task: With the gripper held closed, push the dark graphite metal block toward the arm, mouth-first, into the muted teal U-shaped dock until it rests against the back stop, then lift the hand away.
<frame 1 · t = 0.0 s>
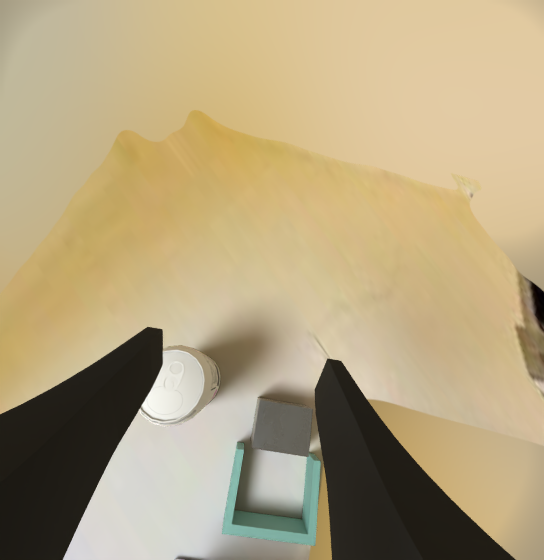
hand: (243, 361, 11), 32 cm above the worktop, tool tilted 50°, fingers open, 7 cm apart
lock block: (278, 421, 38), on the worktop
dock: (271, 484, 35), on the worktop
supplement can: (195, 380, 39), on the worktop
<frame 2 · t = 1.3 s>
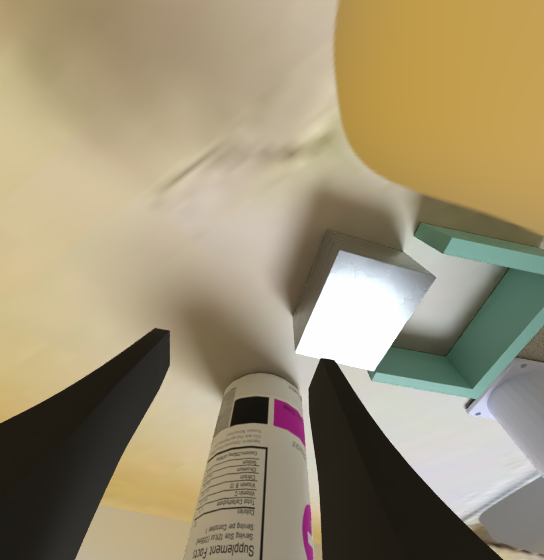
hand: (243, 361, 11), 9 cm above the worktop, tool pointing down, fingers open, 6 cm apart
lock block: (342, 285, 19), on the worktop
dock: (437, 305, 20), on the worktop
supplement can: (262, 394, 26), on the worktop
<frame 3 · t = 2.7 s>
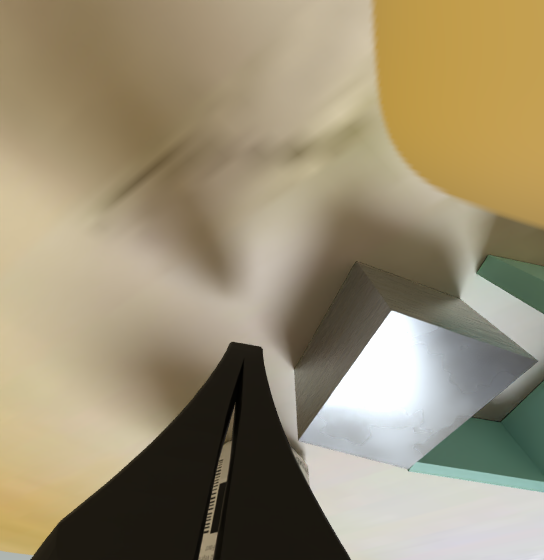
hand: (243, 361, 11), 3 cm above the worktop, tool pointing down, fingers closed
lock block: (367, 335, 14), on the worktop
dock: (498, 362, 14), on the worktop
supplement can: (258, 457, 20), on the worktop
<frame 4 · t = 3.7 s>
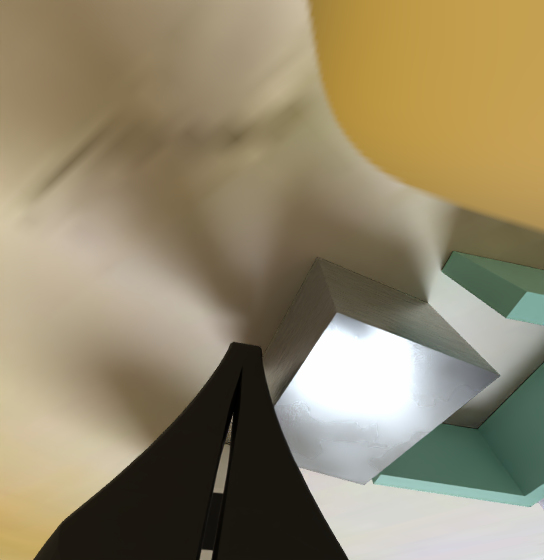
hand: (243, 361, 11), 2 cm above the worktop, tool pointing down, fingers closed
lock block: (331, 339, 13), on the worktop, touching gripper
dock: (471, 366, 13), on the worktop
supplement can: (228, 465, 19), on the worktop
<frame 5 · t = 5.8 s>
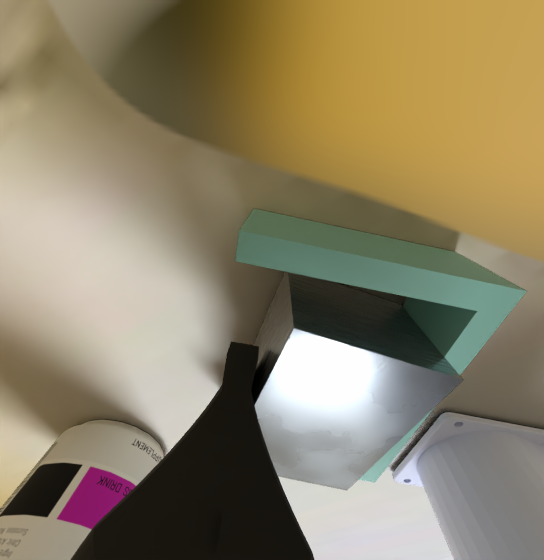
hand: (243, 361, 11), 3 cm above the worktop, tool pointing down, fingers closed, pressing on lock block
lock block: (311, 345, 13), on the worktop, touching dock, gripper
dock: (317, 336, 13), on the worktop
supplement can: (121, 444, 19), on the worktop
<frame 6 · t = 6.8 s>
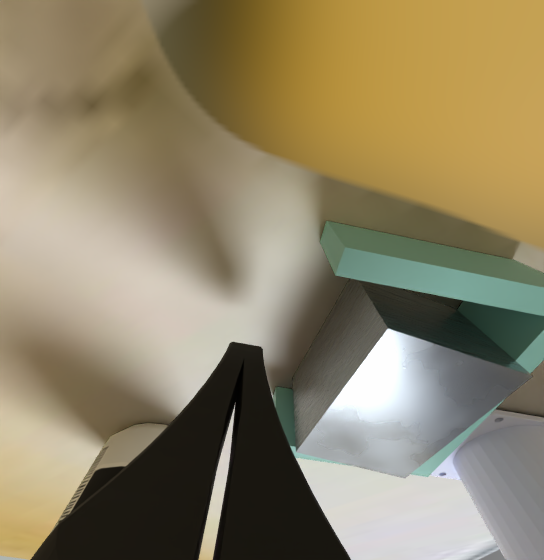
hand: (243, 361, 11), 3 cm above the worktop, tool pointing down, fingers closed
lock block: (365, 344, 14), on the worktop
dock: (371, 340, 14), on the worktop
supplement can: (163, 446, 20), on the worktop
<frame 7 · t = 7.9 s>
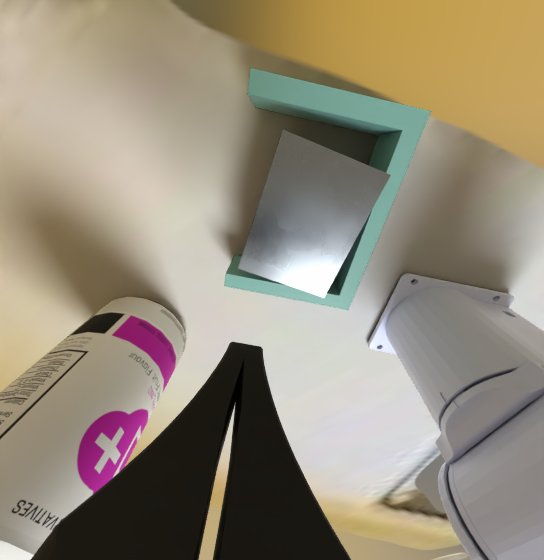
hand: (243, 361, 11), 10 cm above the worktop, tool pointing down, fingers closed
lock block: (301, 210, 18), on the worktop
dock: (304, 203, 17), on the worktop
supplement can: (147, 327, 24), on the worktop
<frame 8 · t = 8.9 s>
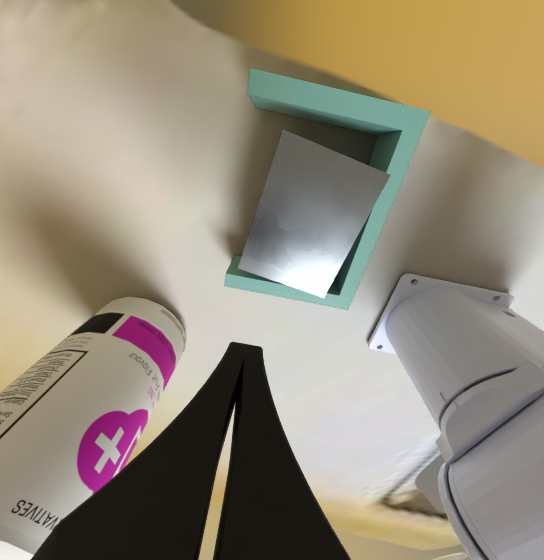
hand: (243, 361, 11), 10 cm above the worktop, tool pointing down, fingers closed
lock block: (301, 210, 18), on the worktop
dock: (304, 203, 17), on the worktop
supplement can: (147, 327, 24), on the worktop
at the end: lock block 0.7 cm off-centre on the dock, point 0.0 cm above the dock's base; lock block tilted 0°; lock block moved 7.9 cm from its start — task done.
